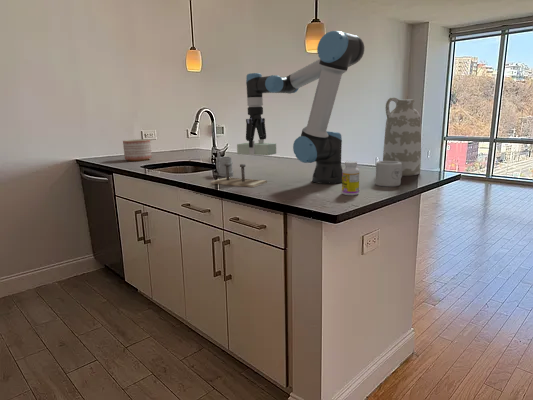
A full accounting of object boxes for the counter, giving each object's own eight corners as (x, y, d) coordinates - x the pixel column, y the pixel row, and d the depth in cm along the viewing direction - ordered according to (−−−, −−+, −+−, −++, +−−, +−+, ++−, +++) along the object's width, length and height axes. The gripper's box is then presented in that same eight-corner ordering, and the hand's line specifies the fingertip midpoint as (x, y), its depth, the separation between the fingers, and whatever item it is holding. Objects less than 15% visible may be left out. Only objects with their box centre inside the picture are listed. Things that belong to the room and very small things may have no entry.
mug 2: (387, 187, 167) (388, 164, 165) (370, 184, 176) (370, 161, 174) (410, 184, 173) (411, 161, 171) (392, 181, 182) (393, 159, 180)
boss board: (267, 182, 186) (266, 163, 184) (253, 187, 176) (252, 167, 174) (226, 179, 198) (225, 161, 196) (211, 183, 188) (210, 164, 186)
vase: (403, 169, 215) (407, 97, 206) (428, 174, 198) (433, 95, 189) (372, 172, 208) (374, 98, 199) (395, 177, 191) (398, 96, 182)
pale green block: (276, 153, 195) (276, 143, 194) (268, 155, 189) (267, 144, 187) (246, 152, 204) (245, 142, 203) (237, 154, 198) (237, 144, 196)
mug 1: (225, 177, 204) (223, 154, 202) (211, 175, 213) (210, 153, 210) (236, 175, 210) (235, 153, 207) (222, 173, 218) (221, 151, 215)
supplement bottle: (339, 192, 159) (340, 161, 157) (355, 192, 160) (356, 160, 157) (344, 196, 153) (345, 163, 150) (361, 195, 153) (362, 162, 151)
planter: (120, 161, 286) (117, 141, 283) (132, 158, 305) (130, 139, 301) (144, 161, 283) (142, 141, 280) (156, 158, 301) (154, 139, 298)
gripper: (259, 106, 202) (261, 151, 207) (236, 106, 185) (238, 155, 189) (272, 106, 198) (273, 151, 203) (249, 106, 181) (251, 155, 186)
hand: (257, 153), depth 196 cm, fingers closed on pale green block, 8 cm apart
